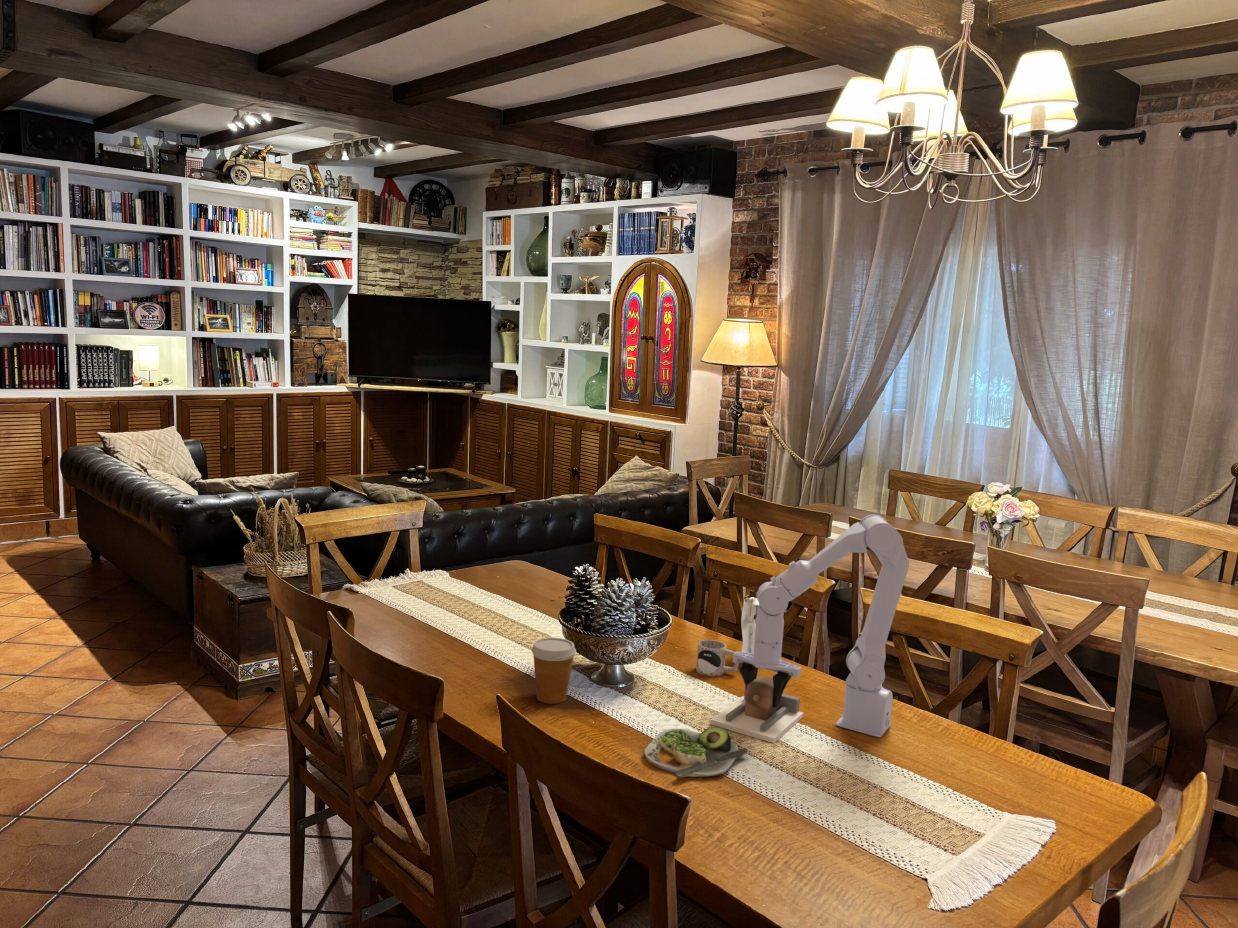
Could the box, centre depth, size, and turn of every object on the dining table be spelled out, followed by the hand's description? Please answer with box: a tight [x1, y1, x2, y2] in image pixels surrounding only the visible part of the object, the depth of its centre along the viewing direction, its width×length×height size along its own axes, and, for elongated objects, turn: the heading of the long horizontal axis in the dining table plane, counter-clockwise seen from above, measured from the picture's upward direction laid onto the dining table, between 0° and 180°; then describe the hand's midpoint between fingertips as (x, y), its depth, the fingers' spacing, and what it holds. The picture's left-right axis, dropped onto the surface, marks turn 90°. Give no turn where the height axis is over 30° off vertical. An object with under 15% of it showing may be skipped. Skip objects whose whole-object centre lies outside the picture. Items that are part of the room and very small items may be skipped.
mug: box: [695, 639, 740, 677], centre depth 216 cm, size 10×7×7 cm, turn 71°
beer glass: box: [740, 597, 760, 654], centre depth 226 cm, size 7×7×15 cm
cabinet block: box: [744, 675, 780, 721], centre depth 191 cm, size 5×8×6 cm, turn 148°
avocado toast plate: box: [643, 726, 749, 778], centre depth 170 cm, size 19×18×5 cm
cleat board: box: [709, 685, 804, 744], centre depth 190 cm, size 14×16×4 cm
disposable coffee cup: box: [531, 637, 577, 705], centre depth 195 cm, size 10×10×12 cm
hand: (763, 701), depth 192 cm, fingers closed on cabinet block, 5 cm apart
